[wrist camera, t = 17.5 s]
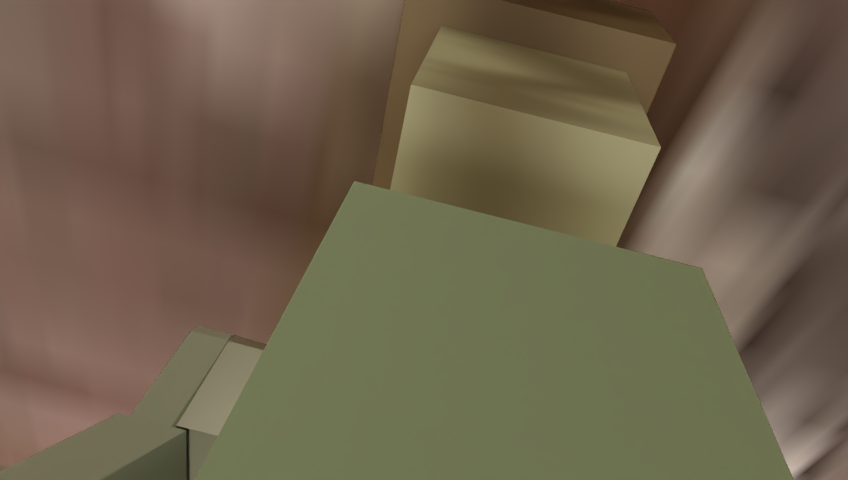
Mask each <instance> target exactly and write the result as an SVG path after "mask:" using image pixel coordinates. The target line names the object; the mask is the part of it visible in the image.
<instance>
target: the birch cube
mask: <svg viewBox="0 0 848 480" xmlns="http://www.w3.org/2000/svg"><path fill="white" fill-rule="evenodd" d="M660 149H661V146H660V144H659V142H658V140H657V137H656V135H655V133H654V131H653V129H652V127H651V125H650V122H649V120H648V118H647V116H646V114H645V112H644V109H643V107H642V105H641V103H640V101H639V99H638V96H637V94H636V92H635V90H634V88H633V86H632V83H631V81H630V79H629V77H628V75H627V73H626V72H623V71H619V70H615V69H612V68H608V67H604V66H600V65H596V64H592V63H588V62H584V61H580V60H576V59H572V58H568V57H564V56H560V55H556V54H552V53H548V52H544V51H540V50H536V49H532V48H528V47H524V46H520V45H516V44H512V43H508V42H504V41H500V40H496V39H492V38H488V37H484V36H480V35H476V34H472V33H468V32H464V31H460V30H456V29H452V28H448V27H444V26H441V28H440V30H439V32H438V33H437V35H436V37H435V39H434V41H433V43H432V45H431V47H430V49H429V51H428V53H427V55H426V57H425V59H424V60H423V62H422V64H421V66H420V68H419V70H418V72H417V74H416V76H415V78H414V80H413V82H412V84H411V87H410V92H409V97H408V102H407V107H406V112H405V117H404V122H403V127H402V132H401V137H400V142H399V147H398V152H397V157H396V162H395V167H394V172H393V177H392V182H391V187H390V190H392V191H396V192H400V193H404V194H408V195H412V196H416V197H420V198H424V199H428V200H432V201H436V202H440V203H444V204H448V205H452V206H456V207H460V208H464V209H468V210H472V211H476V212H480V213H484V214H488V215H492V216H496V217H500V218H504V219H508V220H512V221H516V222H520V223H524V224H528V225H532V226H536V227H540V228H544V229H548V230H552V231H556V232H560V233H564V234H567V235H571V236H575V237H579V238H583V239H587V240H591V241H595V242H599V243H603V244H607V245H611V246H615V247H616V245H617V243H618V241H619V239H620V236H621V234H622V232H623V230H624V228H625V225H626V223H627V221H628V219H629V217H630V215H631V212H632V210H633V208H634V206H635V204H636V201H637V199H638V197H639V195H640V193H641V190H642V188H643V186H644V184H645V182H646V179H647V177H648V175H649V173H650V171H651V169H652V166H653V164H654V162H655V160H656V158H657V155H658V153H659V151H660Z"/></svg>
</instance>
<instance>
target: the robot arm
mask: <svg viewBox="0 0 848 480" xmlns="http://www.w3.org/2000/svg"><path fill="white" fill-rule="evenodd" d="M266 345H267V344H265V343H261V342H258V341H254V340H251V339H247V338H243V337H240V336H236V335H235V336H234V335H230V334H226V333H223V332H219V331H216V330H212V329H209V328H205V327H202V326H198V327H197V328H195V329H194V330H193V331H191V332H190V333H189V334H188V335H187V337H186V338H185V339H184V341H183V342H182V344H181V345H180V346H179V348H178V349H177V351H176V352H175V353H174V355H173V356H172V358H171V359H170V360H169V362H168V363H167V365H166V366H165V367H164V369H163V370H162V372H161V373H160V374H159V376H158V377H157V379H156V380H155V381H154V383H153V384H152V386H151V387H150V388H149V390H148V391H147V393H146V394H145V395H144V397H143V398H142V400H141V401H140V402H139V404H138V405H137V407H136V408H135V409H134V411H133V412H132V414H131V415H125V414H121V413H117V414H115V415H113V416H111V417H109V418H107V419H105V420H103V421H101V422H99V423H97V424H95V425H93V426H91V427H89V428H87V429H85V430H83V431H81V432H79V433H77V434H75V435H73V436H71V437H69V438H67V439H65V440H63V441H61V442H59V443H57V444H55V445H53V446H51V447H49V448H47V449H45V450H43V451H41V452H39V453H37V454H35V455H33V456H31V457H29V458H27V459H25V460H23V461H21V462H19V463H17V464H15V465H13V466H11V467H9V468H7V469H5V470H3V471H1V472H0V480H195V478H196V476H197V474H198V472H199V470H200V468H201V466H202V465H203V463H204V461H205V459H206V457H207V455H208V453H209V452H210V450H211V448H212V446H213V444H214V442H215V440H216V438H217V437H218V435H219V433H220V431H221V429H222V427H223V425H224V423H225V422H226V420H227V418H228V416H229V414H230V412H231V410H232V409H233V407H234V405H235V403H236V401H237V399H238V397H239V395H240V394H241V392H242V390H243V388H244V386H245V384H246V382H247V380H248V379H249V377H250V375H251V373H252V371H253V369H254V367H255V366H256V364H257V362H258V360H259V358H260V356H261V354H262V352H263V351H264V349H265V347H266Z"/></svg>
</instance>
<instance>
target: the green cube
mask: <svg viewBox="0 0 848 480" xmlns="http://www.w3.org/2000/svg"><path fill="white" fill-rule="evenodd" d="M195 480H793V477H792V475H791V473H790V470H789V468H788V466H787V464H786V461H785V459H784V457H783V454H782V452H781V450H780V447H779V445H778V443H777V441H776V438H775V436H774V434H773V431H772V429H771V427H770V424H769V422H768V420H767V418H766V415H765V413H764V411H763V408H762V406H761V404H760V401H759V399H758V397H757V394H756V392H755V390H754V388H753V385H752V383H751V381H750V378H749V376H748V374H747V371H746V369H745V367H744V365H743V362H742V360H741V358H740V355H739V353H738V351H737V348H736V346H735V344H734V341H733V339H732V337H731V335H730V332H729V330H728V328H727V325H726V323H725V321H724V318H723V316H722V314H721V312H720V309H719V307H718V305H717V302H716V300H715V298H714V295H713V293H712V291H711V288H710V286H709V284H708V282H707V279H706V277H705V275H704V272H703V270H702V268H699V267H695V266H691V265H687V264H683V263H679V262H675V261H671V260H667V259H663V258H659V257H655V256H651V255H647V254H643V253H639V252H635V251H631V250H627V249H623V248H619V247H615V246H611V245H607V244H603V243H599V242H595V241H591V240H587V239H583V238H579V237H575V236H571V235H567V234H564V233H560V232H556V231H552V230H548V229H544V228H540V227H536V226H532V225H528V224H524V223H520V222H516V221H512V220H508V219H504V218H500V217H496V216H492V215H488V214H484V213H480V212H476V211H472V210H468V209H464V208H460V207H456V206H452V205H448V204H444V203H440V202H436V201H432V200H428V199H424V198H420V197H416V196H412V195H408V194H404V193H400V192H396V191H392V190H388V189H384V188H380V187H376V186H372V185H368V184H364V183H360V182H356V181H354V182H353V184H352V186H351V188H350V190H349V192H348V194H347V195H346V197H345V199H344V201H343V203H342V205H341V207H340V208H339V210H338V212H337V214H336V216H335V218H334V220H333V222H332V223H331V225H330V227H329V229H328V231H327V233H326V235H325V237H324V238H323V240H322V242H321V244H320V246H319V248H318V250H317V251H316V253H315V255H314V257H313V259H312V261H311V263H310V265H309V266H308V268H307V270H306V272H305V274H304V276H303V278H302V280H301V281H300V283H299V285H298V287H297V289H296V291H295V293H294V294H293V296H292V298H291V300H290V302H289V304H288V306H287V308H286V309H285V311H284V313H283V315H282V317H281V319H280V321H279V323H278V324H277V326H276V328H275V330H274V332H273V334H272V336H271V337H270V339H269V341H268V343H267V345H266V347H265V349H264V351H263V352H262V354H261V356H260V358H259V360H258V362H257V364H256V366H255V367H254V369H253V371H252V373H251V375H250V377H249V379H248V380H247V382H246V384H245V386H244V388H243V390H242V392H241V394H240V395H239V397H238V399H237V401H236V403H235V405H234V407H233V409H232V410H231V412H230V414H229V416H228V418H227V420H226V422H225V423H224V425H223V427H222V429H221V431H220V433H219V435H218V437H217V438H216V440H215V442H214V444H213V446H212V448H211V450H210V452H209V453H208V455H207V457H206V459H205V461H204V463H203V465H202V466H201V468H200V470H199V472H198V474H197V476H196V478H195Z"/></svg>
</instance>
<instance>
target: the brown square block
mask: <svg viewBox="0 0 848 480" xmlns="http://www.w3.org/2000/svg"><path fill="white" fill-rule="evenodd" d="M441 26H444V27H448V28H452V29H456V30H460V31H464V32H468V33H472V34H476V35H480V36H484V37H488V38H492V39H496V40H500V41H504V42H508V43H512V44H516V45H520V46H524V47H528V48H532V49H536V50H540V51H544V52H548V53H552V54H556V55H560V56H564V57H568V58H572V59H576V60H580V61H584V62H588V63H592V64H596V65H600V66H604V67H608V68H612V69H615V70H619V71H623V72H626V73H627V75H628V77H629V79H630V81H631V83H632V86H633V88H634V90H635V92H636V94H637V96H638V99H639V101H640V103H641V105H642V107H643V109H644V112H645V114H646V115H647V112H648V110H649V108H650V105H651V103H652V101H653V98H654V96H655V94H656V91H657V89H658V87H659V84H660V82H661V80H662V77H663V75H664V73H665V70H666V68H667V66H668V63H669V61H670V59H671V56H672V54H673V52H674V49H675V47H676V45H677V44H676V43H675V41H674V40H673V39H672V38H671V36H670V35H669V34H668V33H667V31H666V30H665V29H664V28H663V26H662V25H661V24H660V23H659V22H658V20H657V19H656V18H655V17H654V15H653V14H652V13H651V12H650V11H647V10H643V9H639V8H635V7H631V6H627V5H623V4H619V3H615V2H611V1H607V0H405V3H404V9H403V14H402V20H401V25H400V31H399V36H398V42H397V47H396V53H395V59H394V64H393V70H392V75H391V81H390V86H389V92H388V98H387V103H386V109H385V114H384V120H383V125H382V131H381V136H380V142H379V148H378V153H377V159H376V164H375V170H374V175H373V181H372V186H376V187H380V188H384V189H388V190H390V187H391V182H392V177H393V172H394V167H395V162H396V157H397V152H398V147H399V142H400V137H401V132H402V127H403V122H404V117H405V112H406V107H407V102H408V97H409V92H410V87H411V84H412V82H413V80H414V78H415V76H416V74H417V72H418V70H419V68H420V66H421V64H422V62H423V60H424V59H425V57H426V55H427V53H428V51H429V49H430V47H431V45H432V43H433V41H434V39H435V37H436V35H437V33H438V32H439V30H440V28H441Z"/></svg>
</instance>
